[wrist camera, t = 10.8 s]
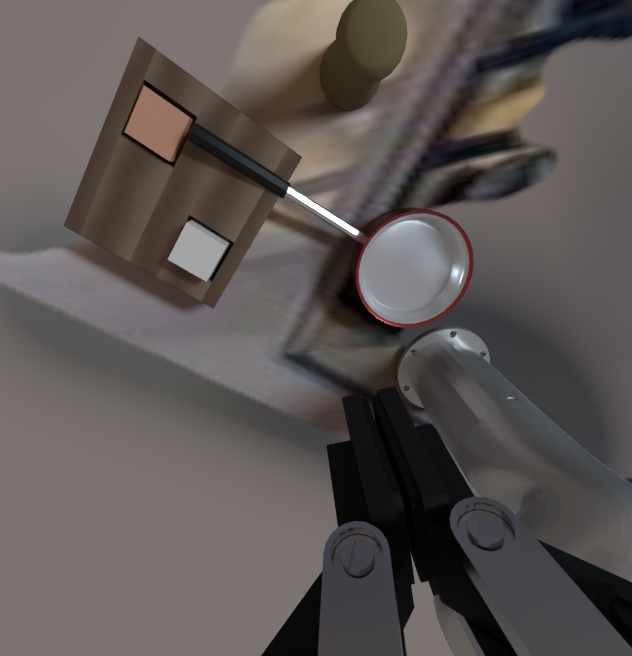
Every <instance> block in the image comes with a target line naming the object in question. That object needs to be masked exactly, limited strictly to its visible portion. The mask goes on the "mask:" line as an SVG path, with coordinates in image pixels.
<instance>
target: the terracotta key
mask: <svg viewBox="0 0 632 656" xmlns="http://www.w3.org/2000/svg"><path fill="white" fill-rule="evenodd" d="M195 122H196V121H195V120H194V119H192V118H191V117H189V116H188V115H187V114H185V113H184V112H182V111H181V110H179V109H178V108H177V107H175V106H174V105H172V104H171V103H169V102H168V101H167V100H165V99H164V98H162V97H161V96H159V95H158V94H157V93H155V92H154V91H152V90H151V89H149V88H147V87H146V86H143V89H142V91H141V93H140V96H139V98H138V101H137V103H136V105H135V108H134V110H133V113H132V115H131V117H130V120H129V122H128V125H127V127H126V129H125V133H127V134H128V135H130V136H131V137H133V138H134V139H136V140H137V141H139V142H140V143H142V144H144V145H145V146H147V147H148V148H150V149H151V150H153V151H154V152H156V153H157V154H159V155H160V156H162V157H163V158H165V159H167V160H168V161H170V162H177V160H178V158H179V155H180V153H181V151H182V149H183V147H184V145H185V143H186V141H187V139H188V134H189V131H190V129H191V127H192V125H194V124H195Z"/></svg>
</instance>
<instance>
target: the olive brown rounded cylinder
mask: <svg viewBox="0 0 632 656" xmlns="http://www.w3.org/2000/svg"><path fill="white" fill-rule="evenodd" d="M406 40H407V25H406V19H405V16H404V14H403V11H402V9H401V7H400V6H399V5H398V3H397V2H396V1H395V0H353V1H352V2H351V3H349V5H348V6H347V8H346V9H345V11H344V12H343V13H342V16H341V18H340V21H339V24H338V27H337V31H336V40H335V41H334V42H333V43H332V44H331V46H330V47H329V48H328V50H327V51H326V53H325V54H324V57H323V60H322V62H321V66H320V81H321V86H322V89H323V91H324V93H325V95H326V97H327V99H328V100H329V101H330V102H331V103H332V104H333V105H335V106H337V107H339V108H341V109H343V110H355V109H359V108H361V107H363V106H364V105H366V104H367V103H369V102H370V100H371V99H372V98H373V96H374V95H375V94H376V91H377V89H378V86H379V84H380V81H381V80H382V79H384V78H385V77H387V76H388V75H390V74H391V73H392V72H393V70H394V69H395V68H396V67H397V65H398V64H399V63H400V61H401V58H402V56H403V53H404V51H405V47H406Z"/></svg>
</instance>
